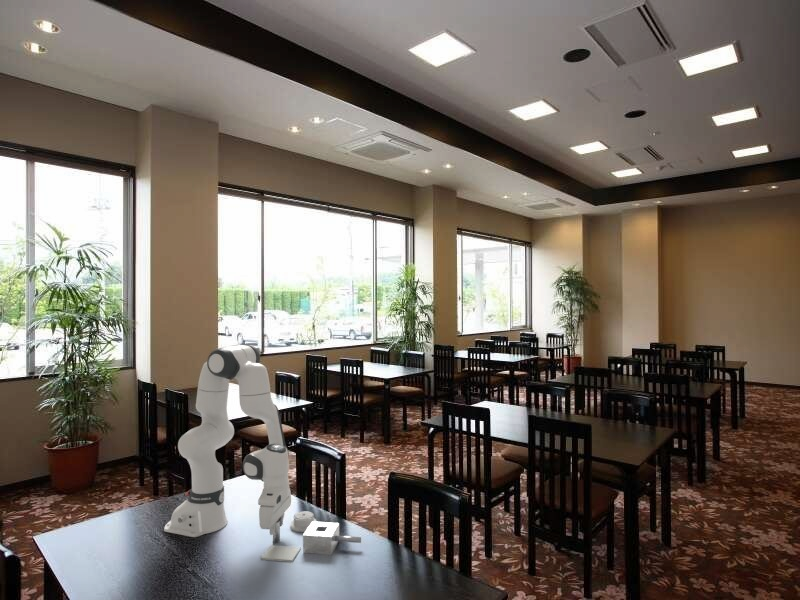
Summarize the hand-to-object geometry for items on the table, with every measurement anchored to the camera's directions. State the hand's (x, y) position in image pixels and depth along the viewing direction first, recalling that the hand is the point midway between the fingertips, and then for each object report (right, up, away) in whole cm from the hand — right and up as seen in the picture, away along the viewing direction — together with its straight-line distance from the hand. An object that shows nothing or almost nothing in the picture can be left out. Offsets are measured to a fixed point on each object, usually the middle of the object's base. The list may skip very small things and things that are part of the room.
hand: (276, 529), depth 168 cm
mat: (+4, -4, -9) cm, 10 cm away
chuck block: (+21, -4, -4) cm, 22 cm away
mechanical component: (+7, -5, +12) cm, 15 cm away
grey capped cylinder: (0, -4, 0) cm, 4 cm away
